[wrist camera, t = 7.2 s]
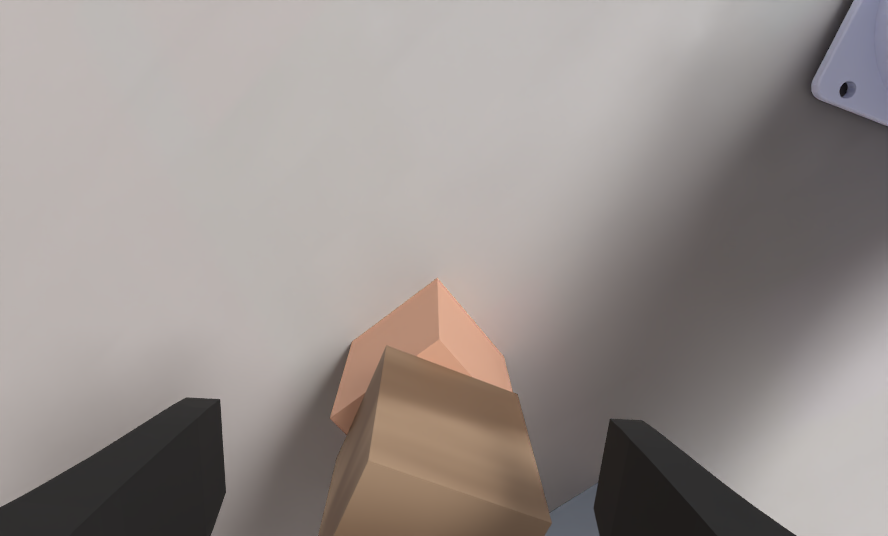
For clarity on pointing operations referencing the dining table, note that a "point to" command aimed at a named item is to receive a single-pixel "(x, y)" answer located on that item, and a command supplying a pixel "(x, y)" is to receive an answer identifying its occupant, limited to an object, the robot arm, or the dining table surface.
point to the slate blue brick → (575, 516)
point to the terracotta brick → (419, 347)
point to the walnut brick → (435, 459)
